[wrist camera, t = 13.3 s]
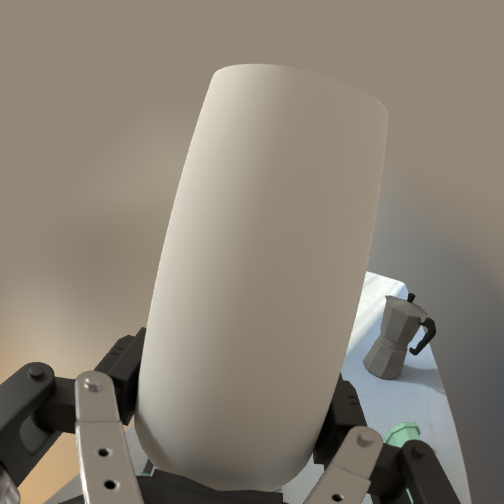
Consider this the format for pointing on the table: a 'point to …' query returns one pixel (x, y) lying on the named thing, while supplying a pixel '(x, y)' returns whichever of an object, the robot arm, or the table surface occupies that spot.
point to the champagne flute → (260, 276)
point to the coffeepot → (397, 337)
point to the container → (403, 436)
